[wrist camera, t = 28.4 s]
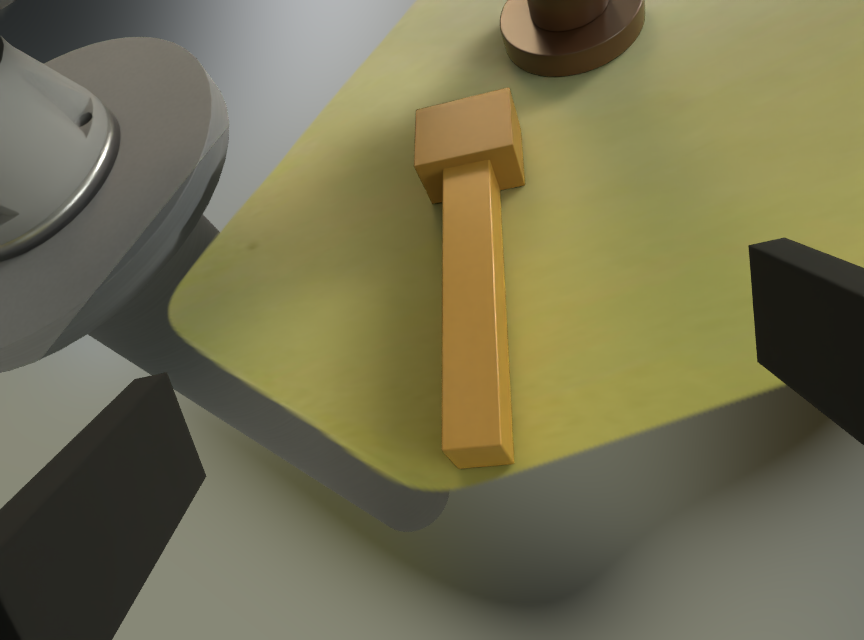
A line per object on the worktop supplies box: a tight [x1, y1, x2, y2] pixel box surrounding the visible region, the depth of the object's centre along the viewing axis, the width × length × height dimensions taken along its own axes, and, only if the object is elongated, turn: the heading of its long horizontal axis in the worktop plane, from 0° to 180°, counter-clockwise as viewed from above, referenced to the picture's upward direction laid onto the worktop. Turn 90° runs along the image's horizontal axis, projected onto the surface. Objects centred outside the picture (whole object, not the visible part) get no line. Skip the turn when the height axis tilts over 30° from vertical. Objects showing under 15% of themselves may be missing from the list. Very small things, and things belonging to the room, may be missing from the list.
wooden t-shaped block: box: [414, 88, 525, 469], centre depth 31 cm, size 5×18×3 cm, turn 179°
